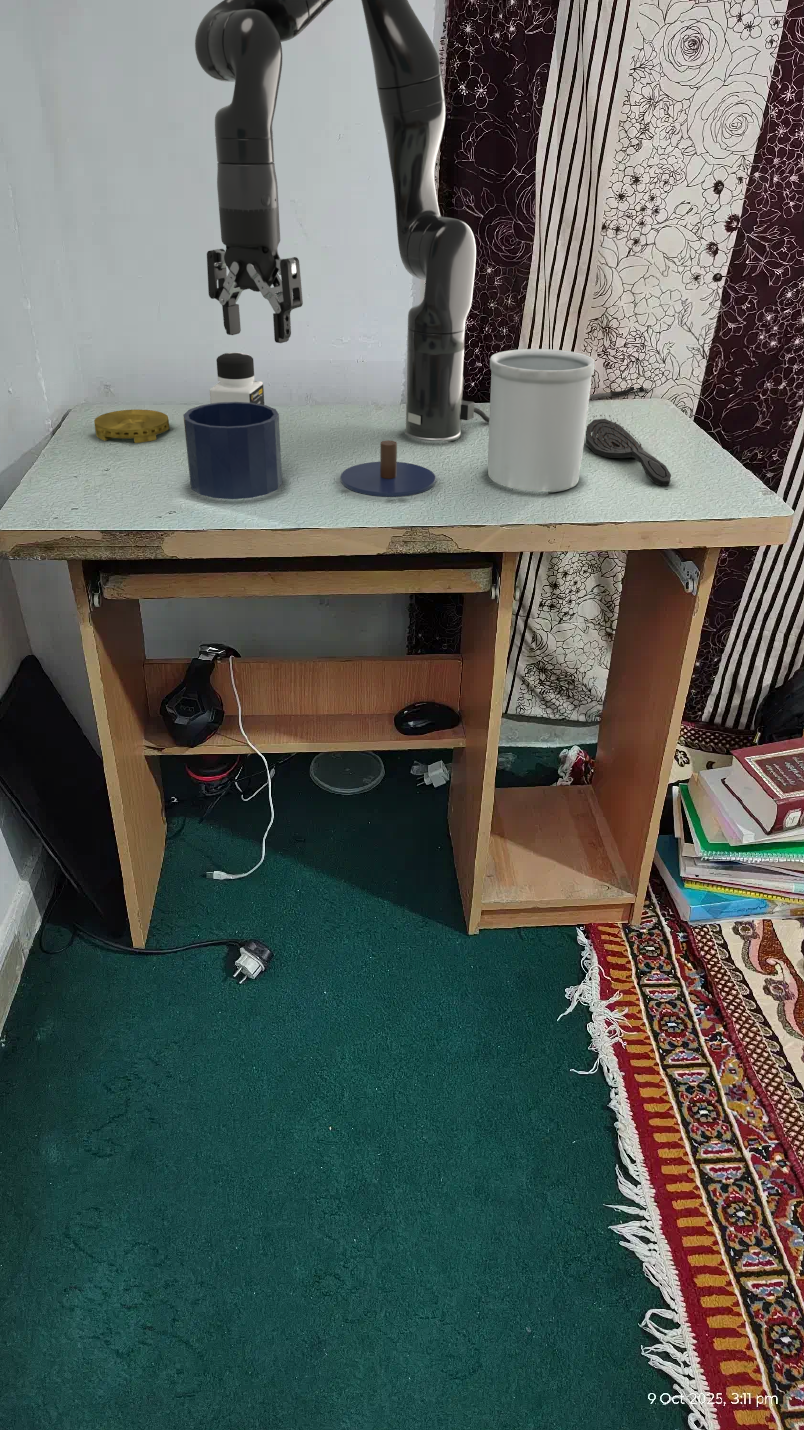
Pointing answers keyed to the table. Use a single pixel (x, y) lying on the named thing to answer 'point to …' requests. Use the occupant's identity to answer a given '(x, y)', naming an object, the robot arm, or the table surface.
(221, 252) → the robot arm
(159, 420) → the golden brown disc
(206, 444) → the pot
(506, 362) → the utensil holder
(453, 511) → the table surface
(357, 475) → the lid
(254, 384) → the medicine bottle
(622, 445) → the hairbrush
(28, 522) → the table surface
